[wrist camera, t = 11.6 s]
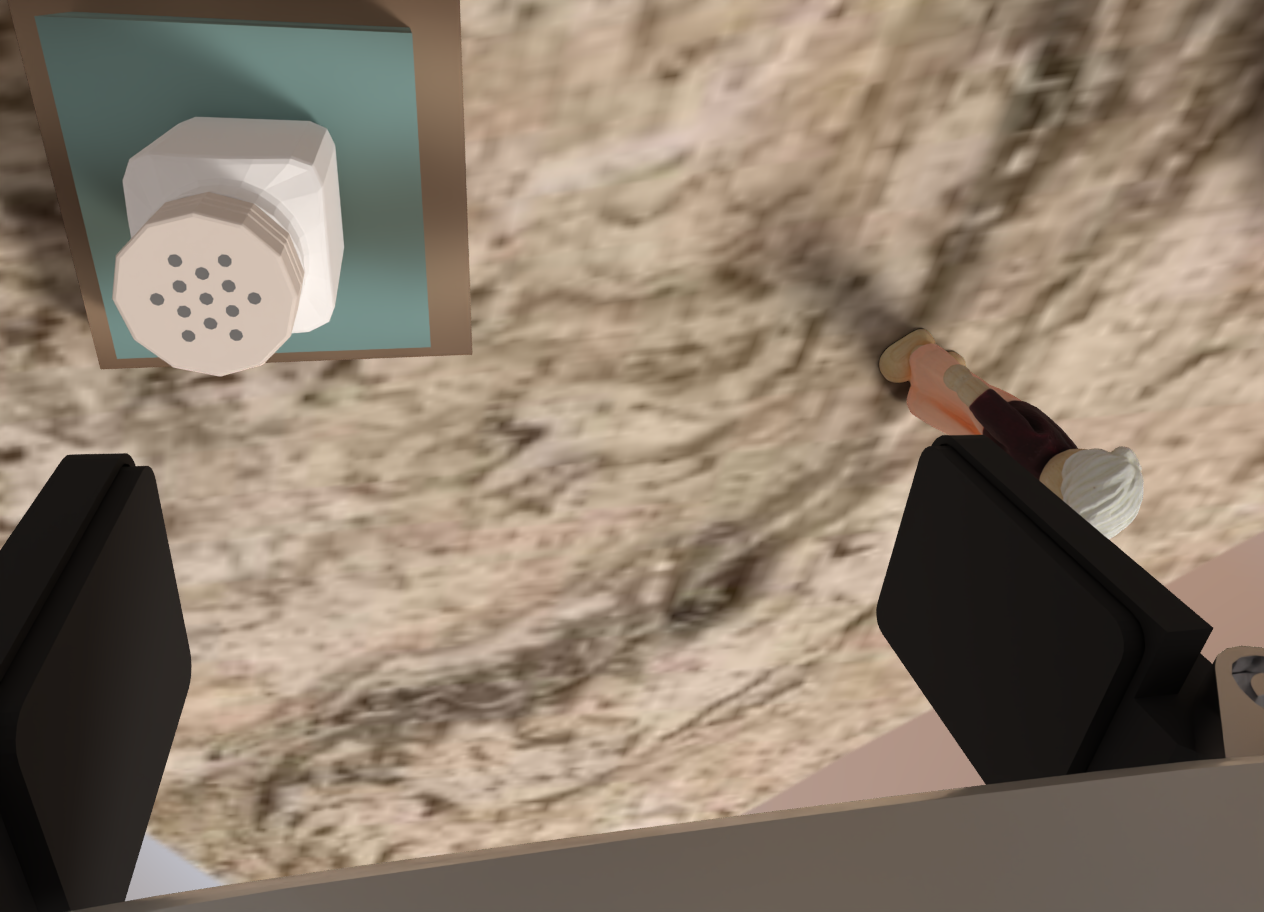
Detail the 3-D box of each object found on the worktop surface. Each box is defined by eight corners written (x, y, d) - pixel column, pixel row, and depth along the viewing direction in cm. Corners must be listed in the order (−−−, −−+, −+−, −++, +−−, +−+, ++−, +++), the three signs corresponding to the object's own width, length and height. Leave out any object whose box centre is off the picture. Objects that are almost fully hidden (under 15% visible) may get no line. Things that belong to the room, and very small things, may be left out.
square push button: (32, -53, 25) (-56, -59, 20) (452, -27, 28) (466, -27, 23) (124, 337, 31) (72, 407, 26) (465, 325, 34) (479, 388, 29)
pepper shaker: (199, 261, 25) (110, 399, 17) (175, 112, 23) (60, 187, 15) (346, 261, 26) (328, 392, 18) (334, 118, 24) (308, 191, 16)
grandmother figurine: (843, 381, 39) (1016, 535, 29) (889, 305, 38) (1088, 436, 27) (965, 432, 42) (1162, 588, 32) (1011, 364, 41) (1232, 502, 30)
